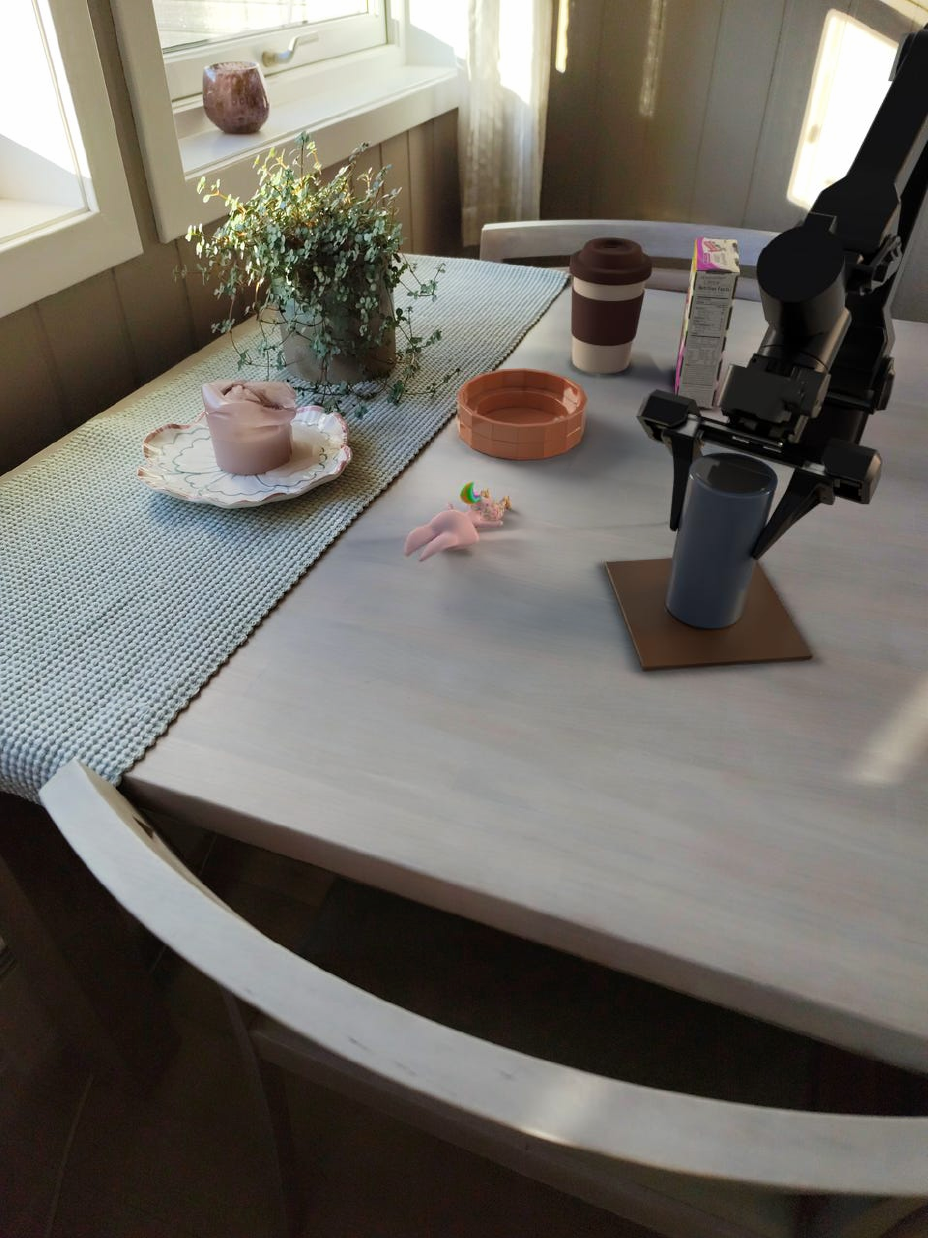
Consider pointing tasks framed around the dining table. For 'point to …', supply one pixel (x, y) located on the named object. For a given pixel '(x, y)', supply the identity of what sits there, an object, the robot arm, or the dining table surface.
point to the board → (681, 645)
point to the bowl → (521, 413)
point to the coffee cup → (607, 302)
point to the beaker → (718, 538)
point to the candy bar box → (707, 319)
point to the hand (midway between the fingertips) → (712, 544)
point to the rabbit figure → (457, 524)
